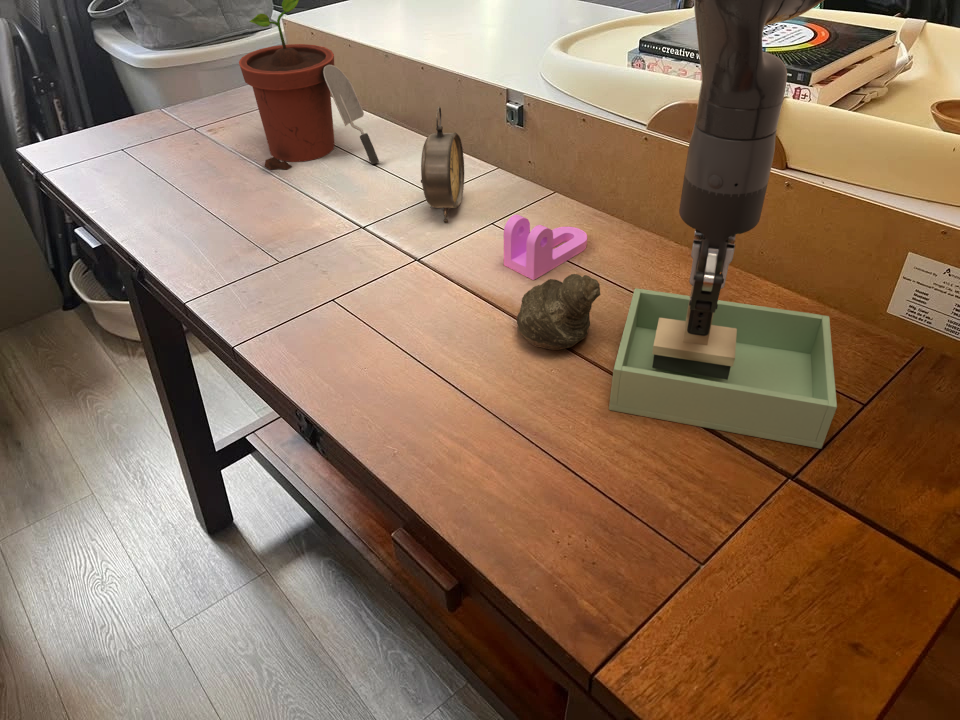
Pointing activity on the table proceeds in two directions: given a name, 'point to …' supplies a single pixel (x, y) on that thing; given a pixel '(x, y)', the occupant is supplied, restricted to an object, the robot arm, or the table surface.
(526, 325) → the seashell
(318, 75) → the potted plant
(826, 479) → the table surface
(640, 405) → the bin
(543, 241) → the bracket
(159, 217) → the table surface
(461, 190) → the alarm clock
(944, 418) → the table surface
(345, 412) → the table surface
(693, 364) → the base with upright post
